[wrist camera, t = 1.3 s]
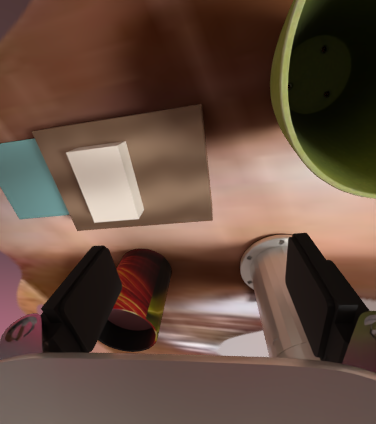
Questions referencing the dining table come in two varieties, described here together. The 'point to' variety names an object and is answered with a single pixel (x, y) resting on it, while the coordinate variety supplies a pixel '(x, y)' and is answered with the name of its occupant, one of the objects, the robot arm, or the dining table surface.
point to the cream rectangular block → (107, 181)
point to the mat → (29, 181)
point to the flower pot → (329, 90)
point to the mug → (138, 301)
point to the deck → (140, 164)
